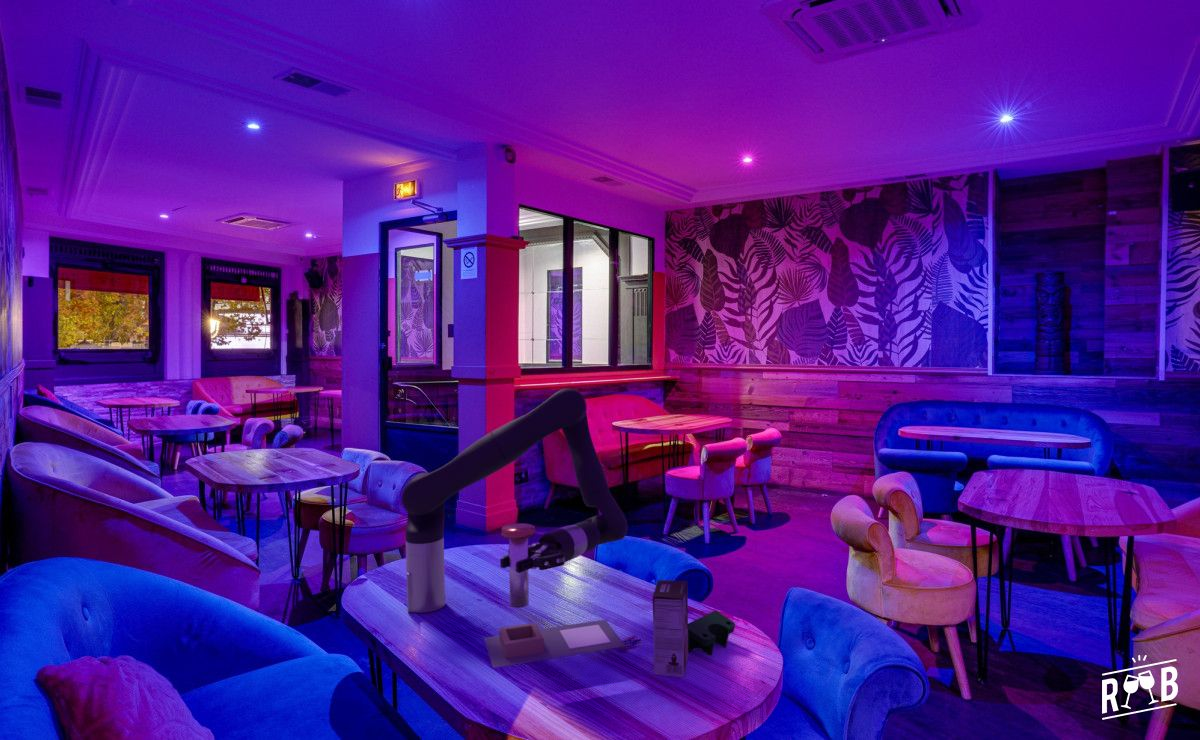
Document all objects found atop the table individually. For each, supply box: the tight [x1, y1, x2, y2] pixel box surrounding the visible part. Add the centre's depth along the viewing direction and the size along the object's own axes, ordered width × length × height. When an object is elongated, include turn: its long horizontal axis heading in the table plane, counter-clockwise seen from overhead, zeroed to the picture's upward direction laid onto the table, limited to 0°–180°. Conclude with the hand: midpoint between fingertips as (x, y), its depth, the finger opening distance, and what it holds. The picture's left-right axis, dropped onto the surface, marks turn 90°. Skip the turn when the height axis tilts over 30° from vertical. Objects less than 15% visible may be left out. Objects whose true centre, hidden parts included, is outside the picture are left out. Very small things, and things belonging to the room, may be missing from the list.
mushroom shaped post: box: [501, 523, 536, 609], centre depth 138 cm, size 7×7×16 cm
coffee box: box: [652, 579, 689, 678], centre depth 132 cm, size 9×6×16 cm
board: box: [483, 619, 627, 669], centre depth 141 cm, size 28×14×4 cm, turn 107°
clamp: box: [688, 610, 736, 657], centre depth 140 cm, size 12×6×9 cm, turn 127°
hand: (509, 565), depth 136 cm, fingers closed on mushroom shaped post, 4 cm apart
